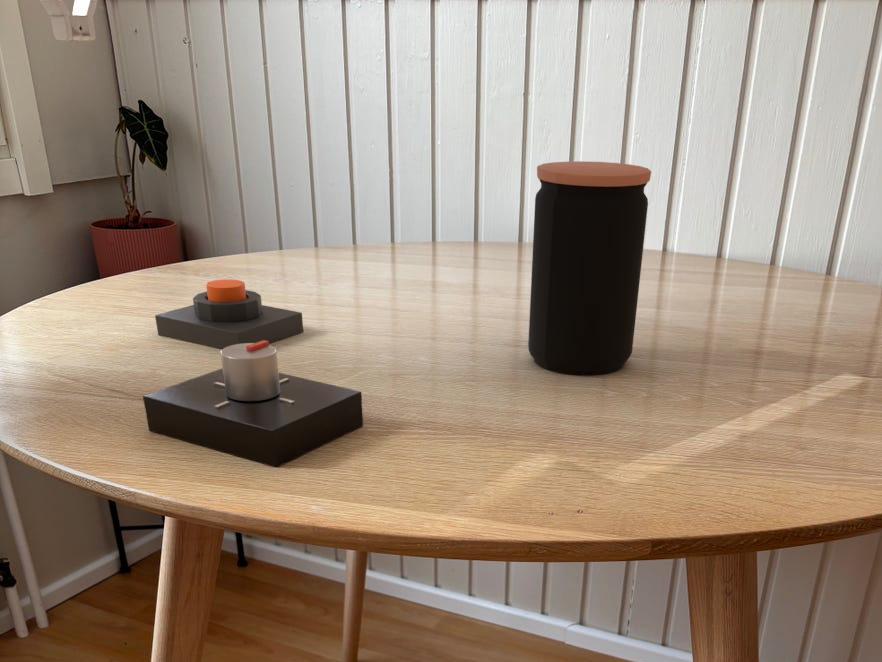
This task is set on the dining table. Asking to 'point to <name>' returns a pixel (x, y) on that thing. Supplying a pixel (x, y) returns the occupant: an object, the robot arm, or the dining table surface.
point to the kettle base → (229, 322)
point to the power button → (226, 290)
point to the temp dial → (250, 371)
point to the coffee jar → (586, 265)
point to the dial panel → (255, 417)
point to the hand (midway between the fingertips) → (75, 40)
